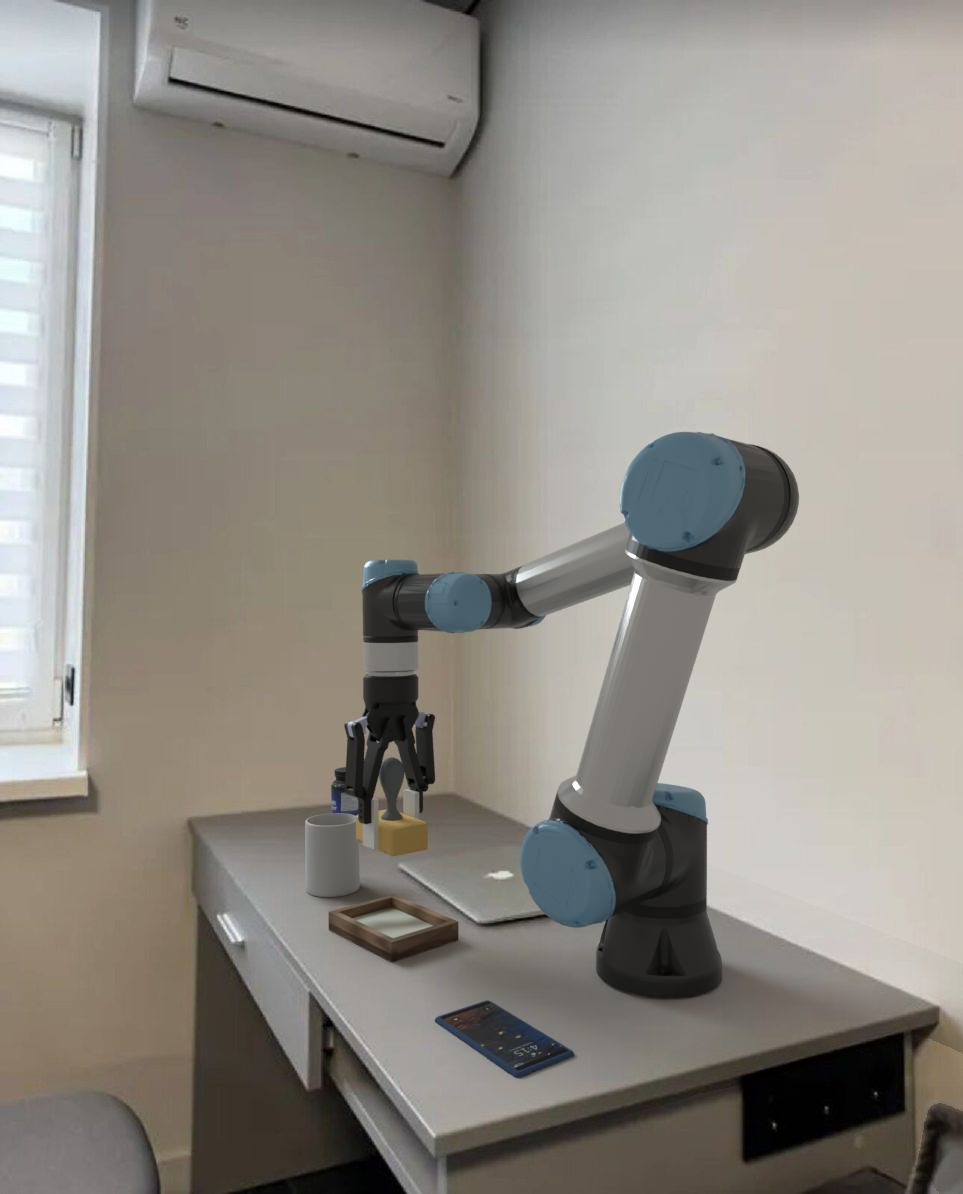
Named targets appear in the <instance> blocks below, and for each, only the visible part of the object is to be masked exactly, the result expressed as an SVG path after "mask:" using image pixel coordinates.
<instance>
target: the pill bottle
mask: <svg viewBox="0 0 963 1194" xmlns="http://www.w3.org/2000/svg"><path fill="white" fill-rule="evenodd" d="M345 774H346V766H345V767H343V766H342V767H338V768H335V769H334V777H335V779H334V781H332V783H331V785H330V786H331V787H330V788H331V789H330V791H331V793H330V796H331V797H330V798H331V799H330V802H331V803H330V804H331V805H330V810H331V811H330V812H331V813H343V814H351V815H355V816H357V815H358V799H357V798H356V797H354V796H350V795H347V794H346V793H345Z"/></svg>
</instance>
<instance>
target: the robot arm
mask: <svg viewBox="0 0 963 1194" xmlns="http://www.w3.org/2000/svg"><path fill="white" fill-rule="evenodd" d="M798 486H799V484H798V482H797V480H796V477H795V475H794V472H793V471H792V469H791V468H790V466H789V465H788V464H787V462H786V461H785V460H784V459H783V458H782V457H780V456H779V455H778V454H777V453H775V452H774V451H771V450H770V449H768V448H765V447H762V446H760V445H755V444H752V443H751V444H749V443H746V442H741V441H737V440H735V439H730V438H726V437H723V436H719V435H716V434H714V433H712V432H711V433H706V432H701V431H696V432H694V431H677V432H672V433H668V434H664V435H662V436H660V437H658V438H657V439H655V440H654V441H652V442H650V443H649V444H647V445H646V446H645V447H643V448H642V449H641V450H640V451H639V452H638V454H636V456H635V457H634V458H633V460H631V463H630V464H629V466H627V469H626V471H625V474H624V475H623V479H622V483H621V486H620V491H619V508H620V510H619V511H620V513H621V514H622V515H623V517H624V520H623V521H624V522H622V523H620V524H617V525H615V526H613V527H610V528H608V529H606V530H604V531H600V532H598V533H596V534H594V535H591V536H589V537H586V538H585V539H582V540H579V541H577V542H574V543H573V544H569V545H568V546H565V547H563V548H560V549H558V550H555V551H553V552H550V553H547V554H546V555H544V556H542V557H539V558H537V559H534V560H532V561H529V562H527V563H525V564H523V565H521V566H517V567H516V568H514V569H511V570H509V571H507V572H502V573H466V572H454V571H452V572H446V573H444V572H443V573H442V572H441V573H427V574H426V573H425V574H423V573H422V574H420V573H419V567H418V563H417V562H416V561H415V560H411V559H372V560H371V559H370V560H368V561H367V562H366V563H365V564H364V566H363V572H362V573H363V574H362V587H361V595H362V635H363V636H362V641H363V642H362V650H363V651H362V657H363V658H362V659H363V660H362V662H363V663H362V664H363V665H362V667H363V668H362V669H363V670H364V671H365V672H367V674H364V676H363V677H362V700H363V703H364V710H363V713H362V715H361V717H359V718H358V719H354V720H353V721H351V720H346V721H345V722H344V730H345V735H346V738H347V740H346V756H345V757H346V759H345V767H346V774H345V793H346V794H347V795H350V796H354V797H356V798H357V799H358V820H359V822H360V823H363V843H362V846H364V847H366V848H369V849H373V850H377V849H378V848H379V811H380V809H379V807H380V805H379V804H380V803H379V802H380V801H379V800H380V799H378V798H374V796H375V792H376V787H377V784H378V780H379V772H380V768H381V764H382V762H383V761H384V756H385V753H386V750H388V749H389V746H390V743H392V742H394V744H395V745H396V747H397V751H398V754H399V758H400V761H401V763H402V764H403V767H404V777H405V779H406V782H407V787H408V788H405V789H403V791H402V793H403V798H402V799H403V804H402V807H403V810H402V811H403V814H406V815H408V816H411V817H414V818H416V819H419V820H420V814H422V813H423V811H424V793H425V792H427V791H428V790H429V785H433V784H435V782H436V770H435V768H436V767H435V753H434V752H435V751H434V735H433V734H434V733H433V729H434V725H435V721H436V716H435V714H433V713H428V712H422V711H421V712H420V711H419V708H418V707H417V700H419V676H418V675H417V674H416V673H415V672H417V671H418V669H419V668H420V667H419V631H429V632H440V633H441V632H446V633H447V634H457V633H458V634H463V633H471V632H475V631H478V630H479V631H480V630H481V631H482V630H495V629H497V630H498V629H514V630H518V629H525V628H528V627H534V626H537V625H538V624H540V623H541V622H543V621H544V619H545V617H546V616H548V615H551V614H553V613H557V612H559V611H562V610H564V609H565V610H566V609H568V608H570V607H573V606H575V605H578V604H581V603H584V602H587V601H589V600H593V599H596V598H598V597H601V596H604V595H607V594H609V593H612V592H614V591H618V590H620V589H624V588H625V587H629V589H628V593H627V596H626V600H625V604H624V607H623V611H622V615H621V618H620V622H619V625H618V628H617V631H616V635H615V640H614V641H613V646H612V649H611V653H610V656H609V660H608V662H607V666H606V669H605V674H604V677H603V680H602V684H601V688H600V691H599V694H598V698H597V703H596V706H595V709H594V713H593V716H592V719H591V724H590V726H589V730H588V733H587V737H586V741H585V743H584V747H583V751H582V754H581V757H580V762H579V764H578V768H577V772H576V775H573V776H572V777H570V778H569V777H568V778H567V779H565V780H563V781H561V783H559V786H558V787H557V791H556V794H555V798H554V801H553V805H552V809H551V811H550V815H549V818H548V819H544V820H542V821H540V822H538V823H536V824H535V825H534V826H533V827H532V828H530V829H529V830H528V831H527V832H526V835H525V836H524V838H523V841H522V843H521V846H520V852H519V853H520V855H519V864H520V871H521V875H522V876H521V877H522V878H523V879H522V880H523V882H524V884H525V885H526V886H527V888H528V893H529V895H530V897H531V899H532V900H533V902H534V903H535V905H536V906H537V907H538V908H539V909H540V910H541V911H542V912H543V914H545V916H547V917H549V918H550V919H551V920H552V921H554V922H555V923H557V924H559V925H561V926H564V927H568V928H574V929H576V928H577V929H579V928H584V927H585V928H586V927H589V926H591V925H597V924H602V923H604V922H605V923H604V925H603V928H602V932H601V935H600V939H599V943H598V945H597V947H596V953H595V961H596V962H595V969H596V973H597V975H598V977H599V978H600V979H601V980H602V981H603V982H604V983H605V984H607V985H609V986H610V987H612V988H614V989H617V990H619V991H622V992H624V993H627V994H631V995H635V996H638V997H639V996H640V997H645V998H650V999H664V1000H665V999H667V1000H669V999H670V1000H673V999H674V1000H675V999H686V998H693V997H694V998H695V997H698V996H702V995H704V994H705V995H706V994H708V993H710V992H712V991H714V990H716V989H717V988H718V987H719V986H720V985H721V983H722V981H723V960H722V959H723V958H722V955H721V953H720V951H719V950H718V946H717V941H716V938H715V935H714V932H713V928H712V925H711V922H710V918H709V914H708V908H707V907H708V906H707V905H708V903H707V902H708V899H707V897H708V896H707V895H708V894H707V893H708V892H707V891H708V884H707V883H708V882H707V881H708V872H707V871H708V853H707V851H708V825H709V819H708V817H707V807H706V799H705V797H704V795H703V794H702V793H701V792H700V791H698V790H696V789H694V788H691V787H687V786H681V785H676V784H669V783H661V782H659V779H660V777H661V776H660V775H661V772H662V770H663V766H664V763H665V761H666V756H667V753H668V751H669V747H670V743H671V740H672V738H673V735H674V731H675V727H676V724H677V722H678V718H679V714H680V712H681V709H682V705H683V702H684V699H685V696H686V692H687V689H688V687H689V686H688V685H689V683H690V679H691V676H692V673H693V670H694V667H695V664H696V660H697V657H698V654H699V652H700V647H701V643H702V642H703V637H704V635H705V631H706V628H707V624H708V622H709V618H710V615H711V612H712V609H713V606H714V602H715V599H716V596H717V594H718V593H719V592H720V591H723V590H724V589H726V588H728V587H730V586H732V585H733V584H736V582H737V581H738V577H739V573H740V570H741V567H742V564H743V561H744V558H745V555H749V554H751V553H756V552H759V551H762V550H765V549H767V548H769V547H770V546H773V545H774V544H775V543H777V542H778V541H779V540H781V539H782V538H783V537H784V536H785V535H786V533H788V531H789V530H790V528H791V526H792V525H793V523H794V520H795V518H796V516H797V513H798V508H799V505H800V493H799V492H800V491H799V487H798ZM414 725H415V735H414V732H413V728H414ZM367 730H368V731H369V732H368V736H367V739H366V737H365V735H366V734H367ZM366 746H367V747H366ZM366 748H367V749H366ZM365 751H366V752H365Z"/></svg>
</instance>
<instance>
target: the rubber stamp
mask: <svg viewBox="0 0 963 1194" xmlns="http://www.w3.org/2000/svg"><path fill="white" fill-rule="evenodd" d="M404 779H405V772H404V767H403V764H402V762H401V760H400V759H398V758H396V757H392V756H391V757H387V758H385V759H383V760H382V764H381V768H380V772H379V776H378V780H379V782H380V785H381V789H382V791H383V793H384V796H385V799H386V803H387V804H386V809H382V810H380V809H379V848H378V849H376V850H377V851H380V852H382V853H384V854H387V855H389V856H391V857H398V856H401V855H409V854H412V853H417V852H423V851H427V850H428V847H429V844H428V843H429V834H428V833H429V831H428V830H429V825H428V823H427V822H426V821H425V820H422V819H420V818H419V819H416V818H414V817H411V816H408V815H406V814H403V813H402V812H399V811H398V808H397V802H398V801H397V800H398V797H399V794H400V792H401V791H400V790H401V788H402V786H403V783H404ZM356 840H357V841H359V843H362V844H363V823H360V822H359V820H358V815H357V816H356Z"/></svg>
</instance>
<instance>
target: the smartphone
mask: <svg viewBox="0 0 963 1194" xmlns="http://www.w3.org/2000/svg"><path fill="white" fill-rule="evenodd" d="M434 1022H435V1024H437V1025H438V1026H440V1027H441V1028H443V1029H444V1030H446V1031H447V1032H448V1033H450V1034H451V1035H453V1036H454V1037H456V1038H457V1039H459V1041H461V1042H463V1043H465V1044H466V1045H467V1046H469V1047H470V1048H472V1049H473V1050H474V1051H476V1052H477V1053H479V1054H480V1055H482V1056H483V1057H484V1058H485V1059H487V1060H489V1062H491V1063H493V1064H494V1065H496V1066H497V1067H498V1068H500V1069H501V1070H503V1071H504V1072H506V1073H507V1074H509V1075H511V1076H512V1077H513V1078H516V1079H522V1078H524V1077H526V1076H529V1075H532V1072H533V1073H537V1072H539V1071H542V1070H544V1069H547V1068H550V1067H552V1066H555V1065H557V1064H559V1063H561V1062H564V1061H567V1060H570V1059H572V1058H574V1056H575V1053H574V1051H573V1050H572V1049H570V1048H568V1047H567V1046H565V1045H564V1044H562V1043H560V1042H559V1041H557V1040H555V1039H553V1038H552V1037H551V1036H548V1035H547V1034H545V1033H544V1032H542V1031H540V1030H539V1029H537V1028H535V1027H533V1026H532V1025H531V1024H529V1023H528V1022H526V1021H523V1020H522V1019H520V1017H518V1016H516V1015H514V1014H512V1013H511V1012H510V1011H507V1010H505V1009H504V1008H502V1007H501V1006H499V1005H497V1004H496V1003H494V1002H492V1001H491V1000H489V999H488V1000H483V1001H480V1002H478V1003H475V1004H471V1005H469V1006H465V1007H462V1008H459V1009H457V1010H453V1011H450V1012H447V1013H444V1014H441V1015H439V1016H436V1017H435V1018H434Z"/></svg>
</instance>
